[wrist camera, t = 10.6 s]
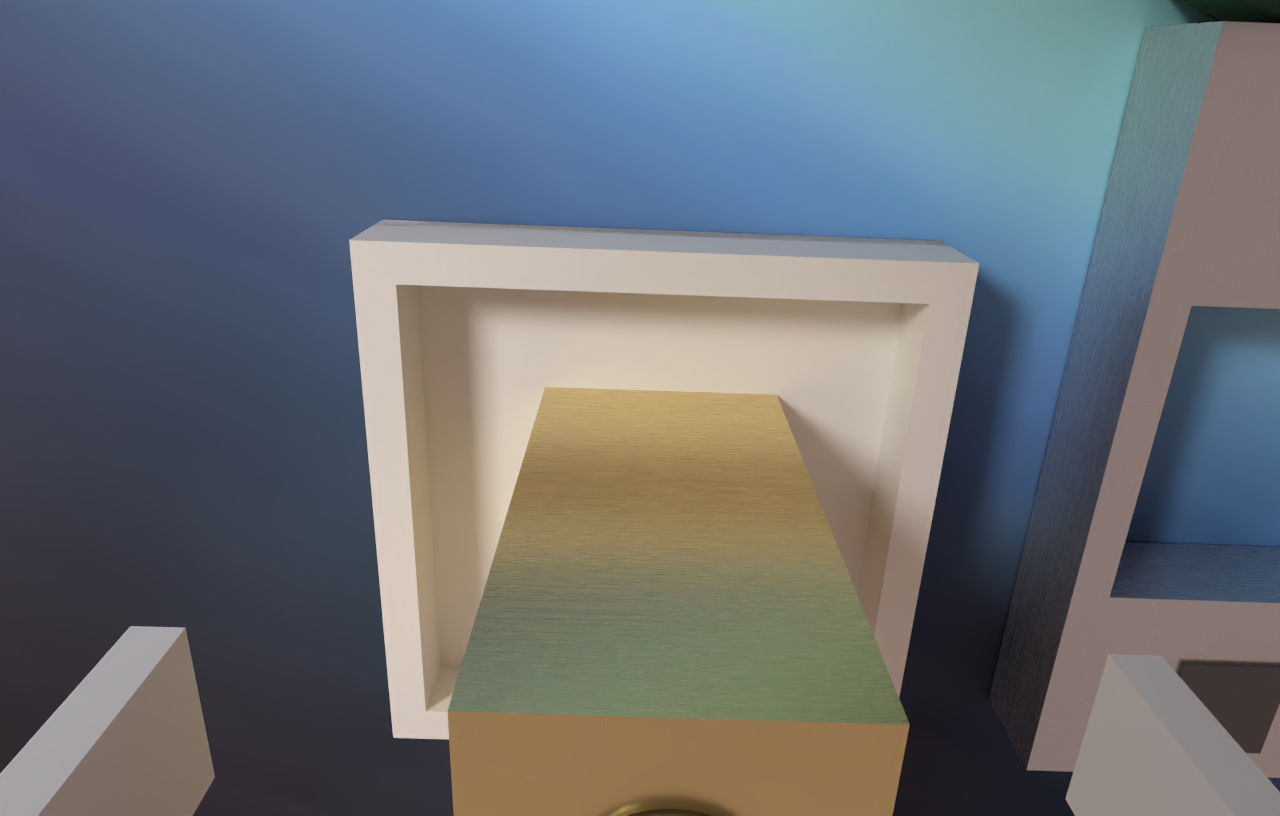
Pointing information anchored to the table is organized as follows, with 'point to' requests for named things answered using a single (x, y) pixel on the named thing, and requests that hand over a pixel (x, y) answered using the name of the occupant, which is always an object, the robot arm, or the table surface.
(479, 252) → the tray
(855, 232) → the table surface
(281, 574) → the table surface
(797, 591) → the block
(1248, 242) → the rail
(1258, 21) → the coffee jar
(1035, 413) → the table surface
